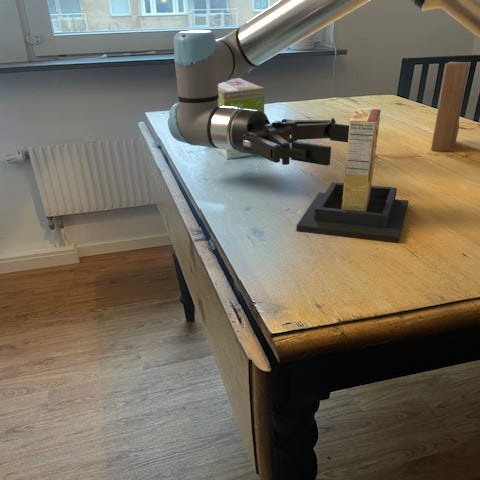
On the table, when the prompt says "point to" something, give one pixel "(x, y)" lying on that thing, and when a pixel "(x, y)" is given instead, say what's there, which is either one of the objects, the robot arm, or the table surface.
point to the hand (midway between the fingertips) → (349, 145)
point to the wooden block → (450, 106)
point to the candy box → (360, 159)
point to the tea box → (240, 102)
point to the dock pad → (356, 215)
